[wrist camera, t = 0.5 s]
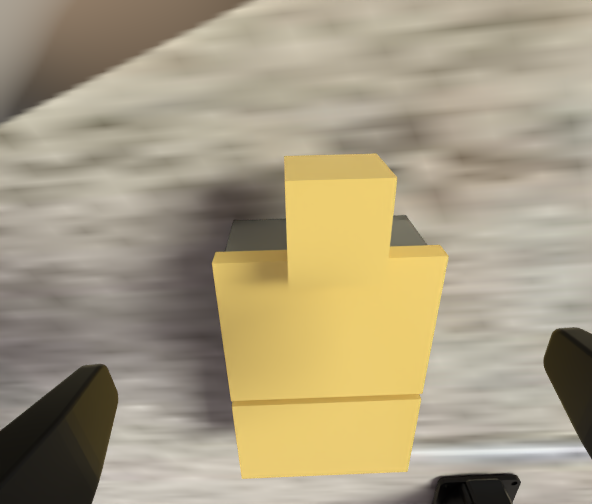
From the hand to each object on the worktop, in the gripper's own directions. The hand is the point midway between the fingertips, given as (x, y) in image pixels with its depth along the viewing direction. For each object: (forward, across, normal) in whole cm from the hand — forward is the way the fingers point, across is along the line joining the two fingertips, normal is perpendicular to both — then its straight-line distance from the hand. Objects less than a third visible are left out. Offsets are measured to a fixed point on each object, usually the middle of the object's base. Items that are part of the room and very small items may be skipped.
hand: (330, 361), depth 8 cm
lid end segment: (+9, -1, +4) cm, 10 cm away
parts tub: (+13, -1, +10) cm, 16 cm away
